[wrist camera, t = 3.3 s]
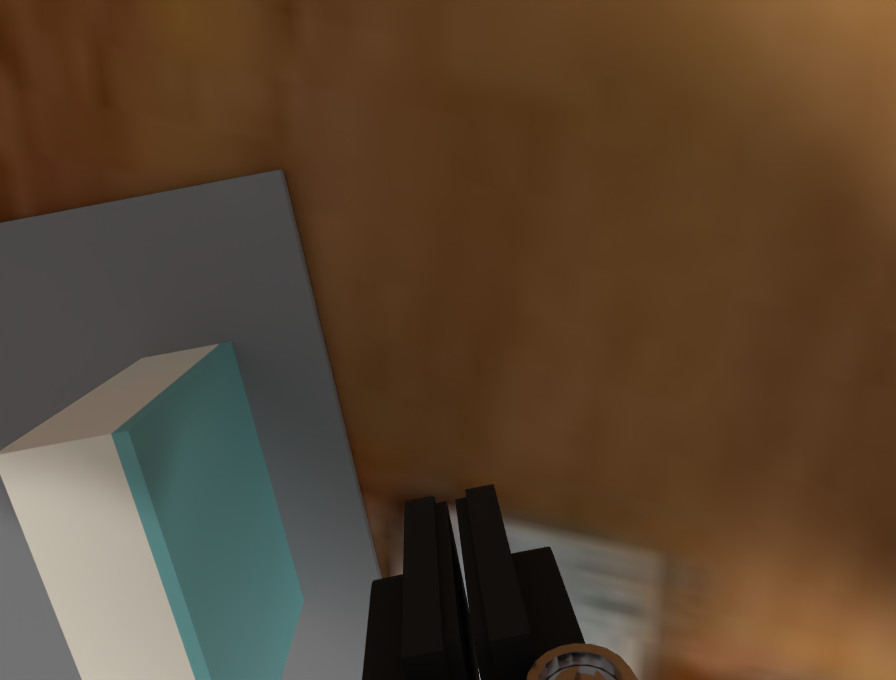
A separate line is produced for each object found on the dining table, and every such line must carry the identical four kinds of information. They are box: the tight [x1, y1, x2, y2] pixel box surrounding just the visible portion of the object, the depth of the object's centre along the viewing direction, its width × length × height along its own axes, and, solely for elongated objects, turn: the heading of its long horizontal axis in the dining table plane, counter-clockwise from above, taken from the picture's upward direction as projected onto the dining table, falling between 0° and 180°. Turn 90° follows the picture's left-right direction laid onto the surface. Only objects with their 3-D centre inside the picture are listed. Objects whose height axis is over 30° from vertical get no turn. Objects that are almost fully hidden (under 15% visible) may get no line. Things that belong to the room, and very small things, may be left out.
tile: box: [0, 342, 304, 680], centre depth 15 cm, size 2×8×6 cm, turn 10°
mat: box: [0, 170, 382, 680], centre depth 18 cm, size 18×16×1 cm
